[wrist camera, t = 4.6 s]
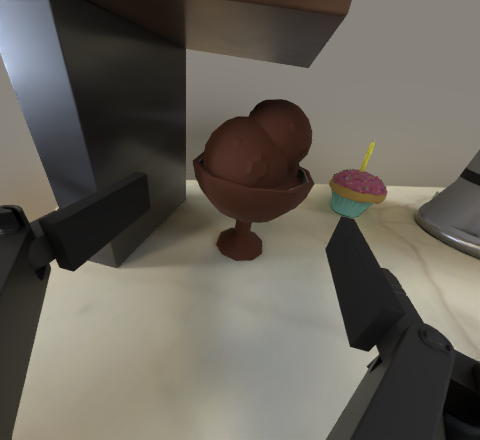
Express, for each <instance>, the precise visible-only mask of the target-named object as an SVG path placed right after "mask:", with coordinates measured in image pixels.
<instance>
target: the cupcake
mask: <svg viewBox="0 0 480 440" xmlns="http://www.w3.org/2000/svg"><path fill="white" fill-rule="evenodd" d="M374 141H375V137H374V140H373V143H370V146H369V149H368V151H367V154H366V156H365V159H364V161H363V163H362V166H361V168H360V170H355V169H354V170H353V169H352V170H351V169H350V170H343V171H340V172H339V173H336V174H334V176H333V178H332V179H331V180H330V183H329V185H330V187H331V189H332V203H331V207H332V209H333V210H335V211H336V212H337V213H339V214H342V215H344V216H348V217H358V216H359V215H360V214H361V213H362V212H363V211H364V210H366V209H367V208H368V207H369V206H370V205H372V204H373V203H375V204H378V203H381V202H382V201H383V200H384V199H385V198H386V195H387V191H386V186H384V184H383V182H382V180H380V179H379V178H378V177H375V176H374V175H371V174H370V173H367V172H364V170H365V168H366V165H367V163H368V160H369V158H370V156H371V153H372V151H373V148H374V146H375V143H374Z"/></svg>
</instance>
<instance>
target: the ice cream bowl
mask: <svg viewBox="0 0 480 440" xmlns="http://www.w3.org/2000/svg"><path fill="white" fill-rule="evenodd" d="M311 143H312V129H311V126H310V123H309V119H308V118H307V116H306V115H305V114H304V112H303V111H302V110H301V108H300V107H299V106H297V105H295V104H294V103H292V102H289V101H287V100H282V99H279V100H278V99H277V100H265V101H262V102H261V103H259V104H257V105H256V106H255V108H254V109H253V110H252V111H251V112H250V115H249V117H235V118H233V119H230V120H227V121H226V122H224V123H223V124H222V125H221V126H220V127H218V128H217V129H216V130H215V131H214V132H213V133H212V135H211V136H210V138H209V140H208V141H207V143H206V145H205V150H204V152H203V153H202V154H201V155H199V156H198V157H197V158H196V159H194V160H193V166H194V170H195V177H196V179H197V181H198V184H199V186H200V188H201V190H202V191H203V193H204V194H205V195H206V196H207V198H208V199H209V200H210V202H211V203H212V204H213V205H214V206H215V207H216V208H217V209H218V210H219V211H220V212H221V213H223V214H225V215H227V216H229V217H231V218H234V219H236V226H235V228H230V229H228V230H225V231H223V232H221V234H220V236H219V238H218V241H217V243H216V245H217V247H218V248H219V250H220V251H221V253H222V254H223V255H225V256H227V257H229V258H232V259H234V260H236V261H242V260H253V259H255V258H256V257H258V256H259V255H261V254H262V240H261V239H260V238H259V237H258V236H257V235H256V233H254V232H252V231H250V228H251V224H252V222H257V223H260V222H268V221H270V220H273V219H275V218H277V217H279V216H281V215H283V214H285V213H287V212H289V211H291V210H292V209H294V208H296V207H297V206H298V205H299V204H300V203H301V202H302V201H303V200H304V199H305V198H306V197H307V195H308V193H309V192H310V190H311V188H312V187H313V185H314V182H313V180H312V178H311V176H310V173H309V171H308V170H306V169H304V168H302V167H300V166H299V162H300V161H301V160H302V159H303V158H304V157H305V156H306V155H307V154H308V151H309V148H310V146H311Z"/></svg>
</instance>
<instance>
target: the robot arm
mask: <svg viewBox="0 0 480 440" xmlns="http://www.w3.org/2000/svg"><path fill="white" fill-rule="evenodd" d="M150 209H151V207H150V197H149V188H148V178H147V174H145V173H141V172H135V173H133V174H131V175H129V176H127V177H125V178H123V179H121V180H119V181H117V182H115V183H113V184H111V185H109V186H107V187H105V188H103V189H101V190H99V191H97V192H95V193H93V194H91V195H89V196H87V197H85V198H83V199H80V200H77V201H73V202H71V203H69V204H67V205H65V207H61V208H59V209H57V211H56V210H55V211H53V212H51V213H49V214H47V215H45V216H43V217H41V218H39V219H37V220H35V221H33V222H31V223H29V221H28V220H27V218H26V215H25V213H24V211H23V209H22V208H21V207H19V206H15V205H3V206H0V440H12V433H13V429H14V424H15V420H16V416H17V412H18V407H19V403H20V399H21V395H22V390H23V386H24V382H25V378H26V373H27V369H28V365H29V361H30V356H31V352H32V348H33V344H34V339H35V335H36V331H37V327H38V322H39V318H40V314H41V310H42V305H43V301H44V297H45V293H46V288H47V284H48V280H49V276H50V271H51V266H50V264H49V263H50V262H51V261H53V260H54V259H56V261H57V263H58V265H59V267H60V268H63V269H66V270H70V271H75V270H76V269H78V268H79V267H80V266H81V265H83V264H84V263H85V262H86V261H87V260H89V259H90V258H91V257H92V256H94V255H95V254H96V253H97V252H98V251H100V250H101V249H102V248H103V247H104V246H106V245H107V244H108V243H109V242H111V241H112V240H113V239H114V238H115V237H117V236H118V235H119V234H120V233H122V232H123V231H124V230H125V229H126V228H128V227H129V226H130V225H131V224H133V223H134V222H135V221H136V220H137V219H139V218H140V217H141V216H142V215H143V214H145V213H146V212H147V211H148V210H150ZM415 219H416V221H417V222H418V224H419V225H420V226H421V227H422V228H424V229H425V230H426V231H427V232H429V233H430V234H432V235H433V236H435V237H436V238H438V239H440V240H441V241H443V242H445V243H447V244H448V245H450V246H452V247H454V248H456V249H458V250H461V251H463V252H465V253H467V254H470V255H472V256H474V257H477V258H479V259H480V150H479V151H478V153H477V154H476V155H475V157H474V158H473V159H472V161H471V162H470V163H469V164H468V166H467V167H466V168H465V170H464V171H463V172H462V174H461V175H460V176H459V178H458V179H457V180H456V181H455V182H454V183H452V184H451V185H450V186H448V187H447V188H446V189H444V190H443V191H442V192H440V193H438V192H436V194H435V195H434V197H433V199H432V200H430V201H429V202H427V203H425V204H424V205H422V206H421V208H420V209H419V210H418V212H417V213H416V215H415ZM325 250H326V254H327V258H328V262H329V266H330V270H331V274H332V278H333V281H334V285H335V289H336V293H337V297H338V301H339V305H340V309H341V313H342V317H343V321H344V325H345V329H346V332H347V336H348V340H349V344H350V347H353V348H356V349H360V350H364V351H367V352H369V351H370V350H371V349H372V348H373V347H374V346H375V345H376V346H377V349H378V352H379V355H378V356H377V357H376V358H375V359H374V360H373V361H372V362H371V363H370V364H369V365H368V366H367V368H369V369H368V371H367V373H366V374H365V376H364V378H363V379H362V381H361V383H360V384H359V386H358V388H357V389H356V391H355V393H354V394H353V396H352V397H351V399H350V401H349V402H348V404H347V406H346V407H345V409H344V411H343V412H342V414H341V416H340V417H339V419H338V421H337V422H336V424H335V426H334V427H333V429H332V431H331V432H330V434H329V435H328V437H327V439H326V440H480V362H478V361H476V360H474V359H472V358H470V357H468V356H466V355H464V354H462V353H460V352H458V351H456V350H454V348H453V346H452V344H451V343H450V342H449V341H448V339H447V338H446V337H445V336H444V335H443V334H441V333H440V332H439V331H438V330H436V329H435V328H433V327H431V326H430V325H428V324H425V323H424V322H423V321H422V319H421V317H420V316H419V314H418V313H417V311H416V309H415V308H414V306H413V304H412V303H411V301H410V299H409V298H408V296H406V293H405V291H404V289H403V288H402V286H401V285H400V283H399V281H398V280H397V278H396V277H395V276H394V275H393V274H392V273H391V272H390V271H389V270H388V269H385V268H381V267H380V265H379V264H378V262H377V260H376V258H375V256H374V255H373V253H372V251H371V249H370V247H369V246H368V244H367V242H366V240H365V238H364V237H363V235H362V233H361V231H360V229H359V227H358V226H357V224H356V222H355V220H354V219H351V218H347V217H342V216H341V218H340V220H339V222H338V224H337V226H336V229H335V231H334V233H333V235H332V237H331V239H330V241H329V243H328V245H327V247H326V249H325Z"/></svg>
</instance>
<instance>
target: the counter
mask: <svg viewBox="0 0 480 440" xmlns="http://www.w3.org/2000/svg"><path fill="white" fill-rule="evenodd" d="M351 2H352V0H0V54H1V57H2V59H3V62H4V65H5V67H6V70H7V73H8V75H9V77H10V80H11V83H12V86H13V88H14V91H15V93H16V96H17V99H18V101H19V104H20V107H21V109H22V112H23V114H24V117H25V120H26V122H27V125H28V127H29V130H30V133H31V135H32V138H33V140H34V143H35V145H36V148H37V151H38V154H39V156H40V159H41V162H42V164H43V167H44V169H45V172H46V175H47V177H48V180H49V183H50V185H51V188H52V190H53V193H54V196H55V198H56V201H57V203H58V206H59V208H61V207H65V205H67V204H69V203H71V202H73V201H77V200H80V199H83V198H85V197H87V196H89V195H91V194H93V193H95V192H97V191H99V190H101V189H103V188H105V187H107V186H109V185H111V184H113V183H115V182H117V181H119V180H121V179H123V178H125V177H127V176H129V175H131V174H133V173H135V172H141V173H145V174H147V178H148V188H149V197H150V207H151V209H150V210H148V211H147V212H146V213H145V214H143V215H142V216H141V217H140V218H139V219H137V220H136V221H135V222H134V223H133V224H131V225H130V226H129V227H128V228H126V229H125V230H124V231H123V232H122V233H120V234H119V235H118V236H117V237H115V238H114V239H113V240H112V241H111V242H109V243H108V244H107V245H106V246H104V247H103V248H102V249H101V250H100V251H98V252H97V253H96V254H95V255H94V256H92V257H91V258H90V259H89V261H93V262H96V263H100V264H104V265H107V266H111V267H115V268H118V267H119V266H120V265H121V264H122V263H123V262H124V261H125V260H126V259H127V258H128V257H129V256H130V255H131V254H132V253H133V252H134V251H135V250H136V249H137V248H138V247H139V246H140V245H141V244H142V243H143V242H144V241H145V240H146V239H147V238H148V237H149V236H150V235H151V234H152V233H153V232H154V231H155V230H156V229H157V228H158V227H159V226H160V225H161V224H162V223H163V222H164V221H165V220H166V219H167V218H168V217H169V216H170V215H171V214H172V213H173V212H174V211H175V210H176V209H177V208H178V207H179V205H180V204H181V203H182V202H183V201H184V200H185V199H186V49H191V50H197V51H203V52H210V53H216V54H223V55H230V56H236V57H242V58H248V59H254V60H261V61H267V62H274V63H280V64H287V65H293V66H300V67H306V68H309V67H310V65H311V64H312V62H313V61H314V60H315V58H316V57H317V56H318V54H319V53H320V51H321V50H322V48H323V47H324V46H325V44H326V43H327V42H328V40H329V39H330V38H331V36H332V35H333V33H334V32H335V31H336V29H337V28H338V26H339V25H340V24H341V22H342V21H343V20H344V18H345V17H346V15H347V14H348V11H349V8H350V5H351Z"/></svg>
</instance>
